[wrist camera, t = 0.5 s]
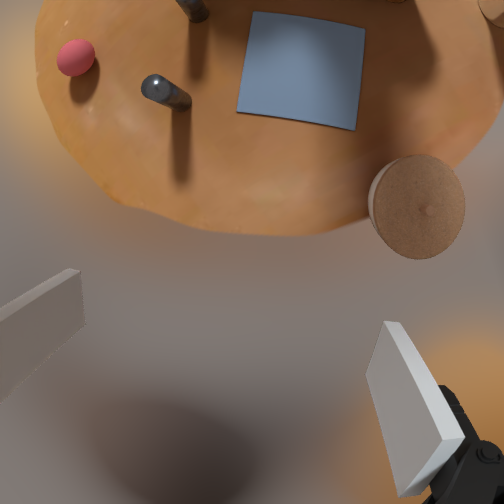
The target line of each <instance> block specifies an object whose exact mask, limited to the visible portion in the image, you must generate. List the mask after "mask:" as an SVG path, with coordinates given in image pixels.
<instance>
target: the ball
mask: <svg viewBox="0 0 504 504" xmlns="http://www.w3.org/2000/svg"><path fill="white" fill-rule="evenodd" d="M94 58H95V51H94V48H93V46H92V45H91V43H89V42H88V41H86V40H83V39H75V40H72V41H70V42H68V43H66V44H65V45H64V46H63V47H62V48H61V50H60V51H59V54H58V57H57V65H58V68H59V70H60V71H61V72H62V73H63V74H65V75H67V76H78V75H81V74H83V73H85V72H86V71H87V70H88V69H89V68H90V67H91V66H92V64H93V62H94Z"/></svg>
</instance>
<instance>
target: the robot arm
mask: <svg viewBox="0 0 504 504" xmlns="http://www.w3.org/2000/svg"><path fill="white" fill-rule="evenodd" d="M84 325H86V323H85V315H84V305H83V295H82V282H81V271H77V270H73V269H69V268H68V269H66V270H64V271H62V272H61V273H59V274H57V275H55V276H54V277H52V278H50V279H49V280H47V281H45V282H43V283H42V284H40V285H38V286H36V287H35V288H33V289H31V290H30V291H28V292H26V293H24V294H23V295H21V296H20V297H18V298H16V299H14V300H13V301H11V302H9V303H8V304H6V305H5V306H3V307H1V308H0V404H1V403H2V402H3V401H4V400H5V399H6V398H7V397H8V396H9V395H10V394H11V393H12V392H13V391H14V390H15V389H16V388H17V387H18V386H19V385H20V384H21V383H22V382H24V381H25V379H27V378H28V377H29V376H30V375H31V374H32V373H33V372H34V371H35V370H36V369H37V368H38V367H39V366H40V365H42V364H43V363H44V362H45V361H46V360H47V359H48V358H49V357H50V356H51V355H52V354H53V353H55V352H56V350H58V349H59V348H60V347H61V346H62V345H63V344H64V343H66V342H67V341H68V340H69V339H70V338H71V337H72V336H73V335H74V334H76V333H77V332H78V331H79V330H80V329H81V328H82V327H83V326H84ZM365 376H366V379H367V382H368V386H369V389H370V392H371V396H372V399H373V403H374V406H375V410H376V413H377V416H378V420H379V424H380V427H381V431H382V434H383V438H384V442H385V445H386V449H387V453H388V457H389V461H390V465H391V468H392V472H393V477H394V481H395V485H396V489H397V494H398V497H399V498H400V497H409V496H416V495H420V494H421V493H422V492H423V491H424V490H425V488H426V487H427V486H428V485H430V488H431V491H432V494H431V495H430V496H429V497H428V498H427V499H426V500H425V501H424V502H423V503H422V504H504V455H503V454H502V451H501V450H500V449H499V448H498V447H497V446H496V445H495V444H493V443H491V442H489V441H485V440H483V441H482V440H481V441H480V439H479V437H478V435H477V433H476V431H475V430H474V428H473V426H472V424H471V422H470V420H469V419H468V417H467V415H466V414H464V410H463V408H462V407H461V406H460V403H459V401H458V399H457V398H456V396H455V394H454V393H453V392H452V391H451V390H449V389H448V388H447V387H446V386H445V385H437V383H436V381H435V380H434V378H433V376H432V374H431V373H430V371H429V369H428V368H427V366H426V364H425V363H424V361H423V359H422V358H421V356H420V354H419V353H418V351H417V349H416V347H415V346H414V344H413V343H412V341H411V339H410V338H409V336H408V334H407V333H406V331H405V330H404V328H403V326H402V325H401V323H400V322H392V321H383V324H382V327H381V330H380V333H379V336H378V339H377V342H376V345H375V348H374V351H373V354H372V357H371V360H370V362H369V365H368V368H367V371H366V373H365Z"/></svg>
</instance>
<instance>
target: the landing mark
mask: <svg viewBox="0 0 504 504" xmlns="http://www.w3.org/2000/svg"><path fill="white" fill-rule="evenodd" d="M364 42H365V29H363V28H359V27H355V26H350V25H346V24H341V23H336V22H331V21H326V20H321V19H315V18H309V17H302V16H295V15H287V14H278V13H268V12H256V11H253V16H252V22H251V27H250V33H249V38H248V44H247V50H246V56H245V62H244V68H243V74H242V80H241V86H240V92H239V98H238V105H237V112H245V113H253V114H261V115H269V116H276V117H283V118H289V119H296V120H302V121H308V122H313V123H319V124H324V125H329V126H334V127H339V128H344V129H349V130H353V131H355V127H356V119H357V111H358V103H359V94H360V85H361V76H362V66H363V54H364Z"/></svg>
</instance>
